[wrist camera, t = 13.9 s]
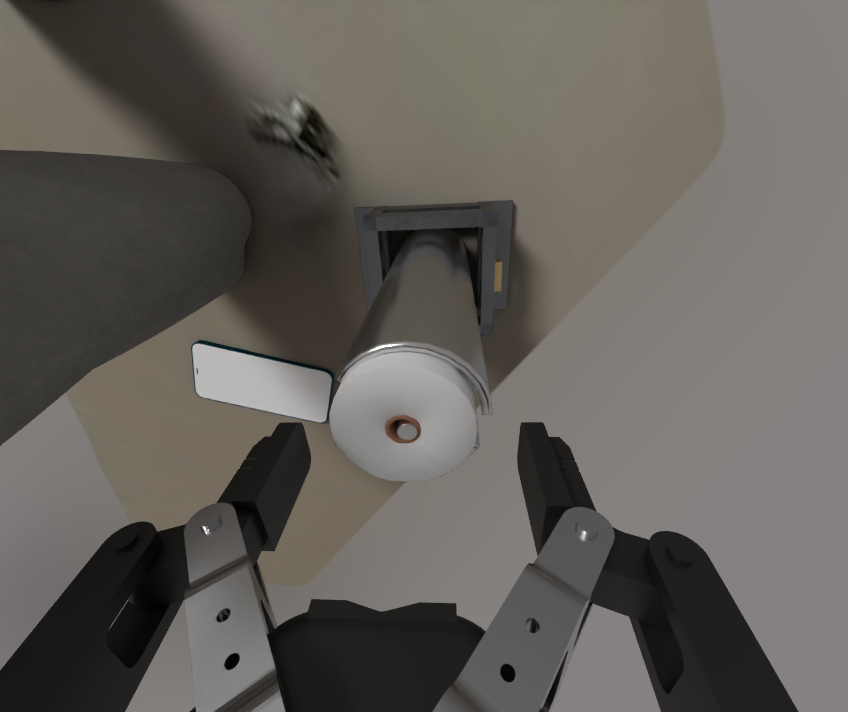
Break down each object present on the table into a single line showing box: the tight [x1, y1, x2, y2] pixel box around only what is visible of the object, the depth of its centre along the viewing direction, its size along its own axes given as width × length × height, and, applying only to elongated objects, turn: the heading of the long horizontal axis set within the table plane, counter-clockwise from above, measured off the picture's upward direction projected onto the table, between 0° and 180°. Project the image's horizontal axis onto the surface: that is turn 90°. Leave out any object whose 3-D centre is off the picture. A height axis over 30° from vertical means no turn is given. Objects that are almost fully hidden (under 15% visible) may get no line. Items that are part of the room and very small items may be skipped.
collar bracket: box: [354, 200, 513, 336], centre depth 33 cm, size 14×10×6 cm
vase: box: [0, 150, 252, 446], centre depth 22 cm, size 12×12×30 cm
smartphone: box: [191, 340, 334, 423], centre depth 44 cm, size 8×1×16 cm
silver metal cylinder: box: [329, 228, 492, 482], centre depth 25 cm, size 6×6×25 cm
